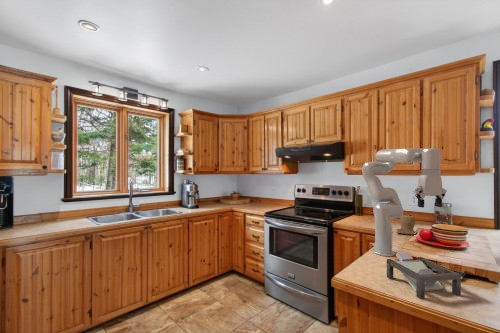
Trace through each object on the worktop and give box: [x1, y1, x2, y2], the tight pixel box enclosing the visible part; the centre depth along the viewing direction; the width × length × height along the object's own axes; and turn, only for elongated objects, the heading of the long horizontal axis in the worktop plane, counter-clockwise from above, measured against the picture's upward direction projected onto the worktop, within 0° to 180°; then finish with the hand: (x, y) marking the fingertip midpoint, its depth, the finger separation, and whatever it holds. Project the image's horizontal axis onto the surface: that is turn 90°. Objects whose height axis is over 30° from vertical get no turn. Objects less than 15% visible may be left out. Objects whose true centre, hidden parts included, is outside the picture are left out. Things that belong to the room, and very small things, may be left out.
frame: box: [386, 256, 462, 300], centre depth 109 cm, size 20×20×9 cm
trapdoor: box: [395, 251, 445, 293], centre depth 112 cm, size 19×14×2 cm
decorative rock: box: [429, 267, 467, 280], centre depth 122 cm, size 19×6×15 cm
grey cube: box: [418, 268, 436, 286], centre depth 106 cm, size 5×5×5 cm
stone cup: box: [396, 214, 416, 235], centre depth 194 cm, size 15×12×15 cm
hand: (429, 206), depth 118 cm, fingers open, 9 cm apart
